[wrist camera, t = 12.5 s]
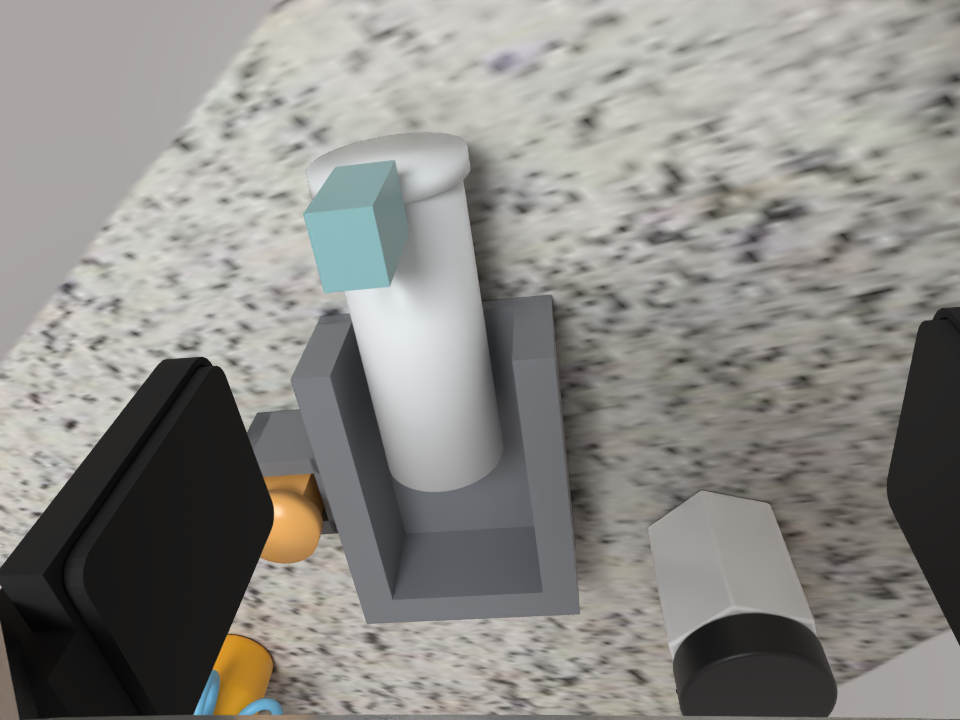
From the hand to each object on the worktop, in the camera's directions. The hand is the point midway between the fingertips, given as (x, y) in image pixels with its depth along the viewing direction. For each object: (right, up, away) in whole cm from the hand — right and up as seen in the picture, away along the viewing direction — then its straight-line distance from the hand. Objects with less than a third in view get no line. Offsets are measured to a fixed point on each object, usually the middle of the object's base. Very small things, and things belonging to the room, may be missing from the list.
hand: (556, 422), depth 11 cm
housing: (-5, -4, +37) cm, 38 cm away
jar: (+14, -11, +40) cm, 44 cm away
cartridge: (-4, +5, +30) cm, 31 cm away
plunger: (-12, -5, +37) cm, 39 cm away
